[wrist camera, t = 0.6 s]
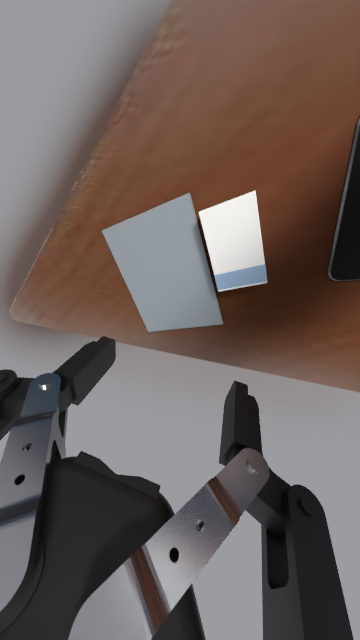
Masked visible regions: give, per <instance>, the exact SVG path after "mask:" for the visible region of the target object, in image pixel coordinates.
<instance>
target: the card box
mask: <svg viewBox="0 0 360 640" xmlns="http://www.w3.org/2000/svg"><path fill="white" fill-rule="evenodd" d="M199 215H200V219H201V223H202V227H203V232H204V236H205V240H206V244H207V248H208V252H209V256H210V260H211V264H212V268H213V272H214V277H215V281H216V285H217V289H218V292H220V291H225V290H231V289H237V288H242V287H248V286H253V285H259V284H264V283H267V275H266V267H265V259H264V253H263V245H262V237H261V229H260V222H259V214H258V206H257V199H256V191H253V192H250V193H247V194H245V195H242V196H239V197H237V198H234V199H231V200H229V201H226V202H224V203H221V204H218V205H216V206H213V207H210V208H208V209H205V210H202V211H200V212H199Z"/></svg>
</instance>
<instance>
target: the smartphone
mask: <svg viewBox="0 0 360 640" xmlns="http://www.w3.org/2000/svg"><path fill="white" fill-rule="evenodd" d="M328 275H329V277H330V278H331V279H332V280H335V281H353V280H360V117H359V119H358V122H357V125H356V130H355V136H354V141H353V146H352V151H351V156H350V161H349V166H348V171H347V176H346V181H345V186H344V191H343V196H342V202H341V207H340V212H339V217H338V222H337V227H336V231H335V236H334V241H333V247H332V252H331V257H330V262H329V267H328Z"/></svg>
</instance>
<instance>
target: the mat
mask: <svg viewBox="0 0 360 640" xmlns="http://www.w3.org/2000/svg"><path fill="white" fill-rule="evenodd" d="M102 233H103V235H104V237H105V239H106V241H107V243H108V246H109V248H110V250H111V252H112V254H113V256H114V259H115V261H116V263H117V265H118V267H119V269H120V272H121V274H122V276H123V278H124V280H125V282H126V285H127V287H128V289H129V291H130V293H131V295H132V298H133V300H134V302H135V304H136V306H137V308H138V311H139V313H140V315H141V317H142V319H143V321H144V324H145V326H146V328H147V330H148V332H153V331H163V330H173V329H182V328H192V327H201V326H211V325H220V324H223V320H222V316H221V312H220V308H219V304H218V300H217V296H216V292H215V288H214V284H213V281H212V277H211V273H210V269H209V265H208V261H207V257H206V253H205V249H204V245H203V242H202V238H201V234H200V230H199V226H198V222H197V218H196V214H195V210H194V206H193V202H192V199H191V195H190V193H188V194H185V195H183V196H181V197H178V198H176V199H174V200H171V201H169V202H167V203H165V204H162V205H160V206H158V207H155V208H153V209H151V210H148V211H146V212H144V213H141V214H139V215H137V216H135V217H132V218H130V219H128V220H125V221H123V222H121V223H118V224H116V225H114V226H112V227H109V228H107V229H105V230H102Z"/></svg>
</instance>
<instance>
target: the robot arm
mask: <svg viewBox="0 0 360 640" xmlns="http://www.w3.org/2000/svg"><path fill="white" fill-rule="evenodd" d="M115 354H116V353H115V340H114V339H111V338H108V337H105V336H103V337H101V338H100V339H99V340H98V341H97V342H95V341H93V342H91V343H88V344H86V345H85V346H83V347H82V348H81V349H80V350H79V351H78V352H76V353H75V355H73V356H72V357H71V358H70V359H68V360H67V361H66V362H65V363H64V364H63V365H61V366H60V367H59V368H58V369H57V370H56V371H54V372H53V373H45V374H42V375H39V376H37V377H36V378H18V377H17V375H16V373H15V372H14V371H12V370H0V440H1V439H2V438H3V437H4V436H5V435H6V434H7V433H8V431H10V434H9V437H8V440H7V443H6V447H5V450H4V453H3V457H2V460H1V463H0V640H206V639H205V635H204V631H203V627H202V623H201V618H200V615H199V610H198V606H197V602H196V598H195V594H194V590H193V585H192V582H193V581H194V580H195V578H196V577H197V576H198V574H199V573H200V572H201V570H202V569H203V568H204V567H205V565H206V564H207V563H208V561H209V560H210V558H211V557H212V556H213V555H214V553H215V552H216V550H217V549H218V548H219V547H220V545H221V544H222V542H223V541H224V540H225V539H226V537H227V536H228V535H229V533H230V532H231V531H232V529H233V528H234V527H235V525H236V524H237V522H238V521H239V518H240V516H241V515H242V514H243V512H244V511H245V510H246V511H247V512H248V513H250V514H251V515H252V516H253V517H254V518H255V519H256V520H257V521H258V522H259V523H261V529H262V593H263V594H262V595H263V640H353V636H352V631H351V627H350V622H349V618H348V614H347V609H346V605H345V600H344V596H343V591H342V587H341V583H340V579H339V574H338V569H337V565H336V561H335V556H334V552H333V548H332V544H331V539H330V534H329V530H328V525H327V521H326V517H325V513H324V510H323V507H322V506H321V504H320V502H319V501H318V499H317V498H316V496H315V495H314V494H313V493H312V492H311V491H310V490H309V489H307V488H306V487H304V486H301V485H293V486H290V485H289V484H288V483H286V482H285V481H284V480H282V479H281V478H280V477H278V476H277V475H276V474H275V473H274V472H272V470H271V469H270V468H269V467H268V465H267V462H266V460H265V459H264V457H263V454H262V446H261V433H260V424H259V421H260V420H259V408H258V404H257V402H256V400H255V398H254V397H253V396H250V395H248V386H247V385H246V384H243V383H240V382H237V381H234V383H233V384H232V386H231V389H230V391H229V393H228V395H227V397H226V400H225V404H224V414H223V425H222V436H221V447H220V457H219V463H220V464H222V465H225V467H224V468H223V469H222V471H220V472H219V473H218V474H217V475H216V476H215V477H214V478H213V479H211V480H209V481H208V482H207V483H206V484H205V485H204V486H203V487H202V488H201V489H200V490H199V491H198V492H197V493H196V494H195V495H194V496H193V497H192V498H191V499H190V500H189V501H188V502H187V503H186V504H185V505H184V506H183V507H182V508H181V509H180V510H179V511H178V512H177V513H176V514H174V512H173V510H172V508H171V506H170V504H169V503H168V501H167V500H166V499H165V497H164V496H163V495H162V494H161V493H160V492H159V489H160V485H158V484H155V483H153V482H151V481H149V480H146V479H144V478H142V477H137V476H126V475H117V474H115V473H114V472H113V471H112V470H111V469H110V468H109V467H108V466H107V465H106V464H104V463H103V462H102V461H101V460H100V459H98V458H96V457H93V456H92V455H89V454H87V453H85V452H83V451H81V452H80V453H79V455H78V456H77V457H67V458H66V456H65V455H66V453H65V452H66V451H65V436H66V423H67V412H68V407H69V406H70V404H71V403H73V404H75V405H79V404H80V403H81V401H82V400H83V399H84V398H85V397H86V396H87V395H88V393H89V392H90V391H91V390H92V388H93V387H94V386H95V385H96V383H98V381H99V380H100V379H101V378H102V377H103V375H104V374H105V373H106V372H107V371H108V369H109V368H110V367H111V366H112V365H113V363H114V361H115V356H116V355H115Z"/></svg>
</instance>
